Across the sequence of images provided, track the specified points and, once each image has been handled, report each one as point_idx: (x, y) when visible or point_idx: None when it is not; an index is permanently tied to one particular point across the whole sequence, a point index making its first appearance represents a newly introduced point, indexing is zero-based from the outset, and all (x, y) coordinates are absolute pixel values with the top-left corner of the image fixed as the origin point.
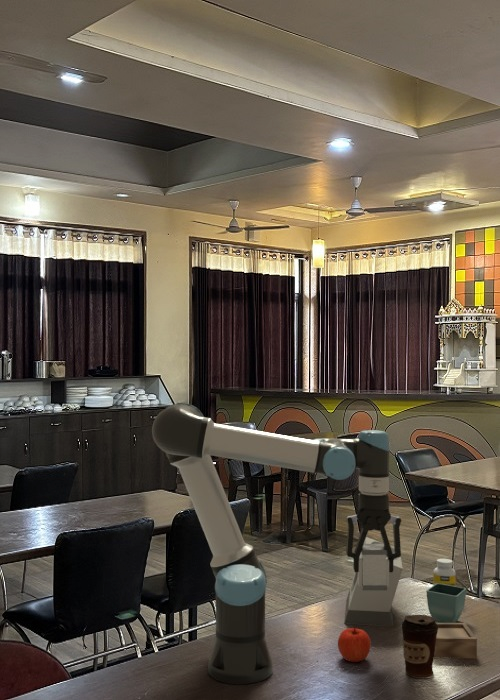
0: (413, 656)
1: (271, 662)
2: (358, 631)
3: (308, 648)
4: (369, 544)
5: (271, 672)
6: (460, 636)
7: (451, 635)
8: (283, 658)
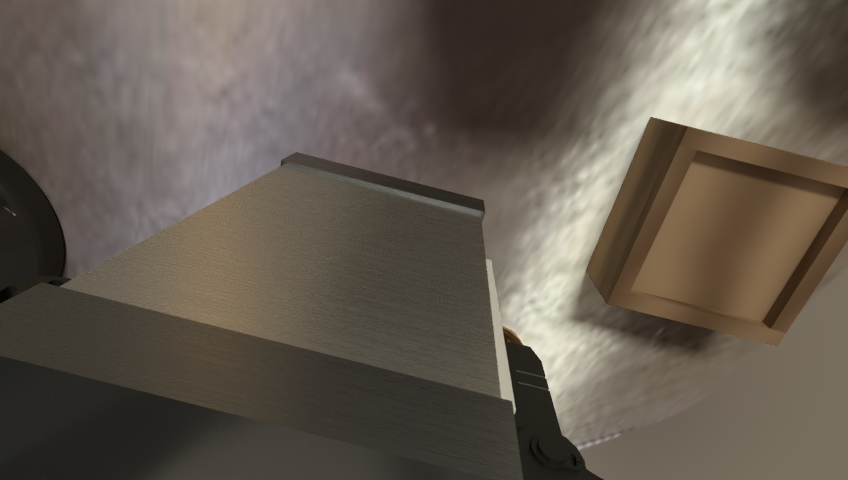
0: None
1: (33, 275)
2: None
3: (184, 87)
4: (174, 448)
5: (58, 270)
6: (751, 278)
7: (724, 260)
8: (94, 158)
